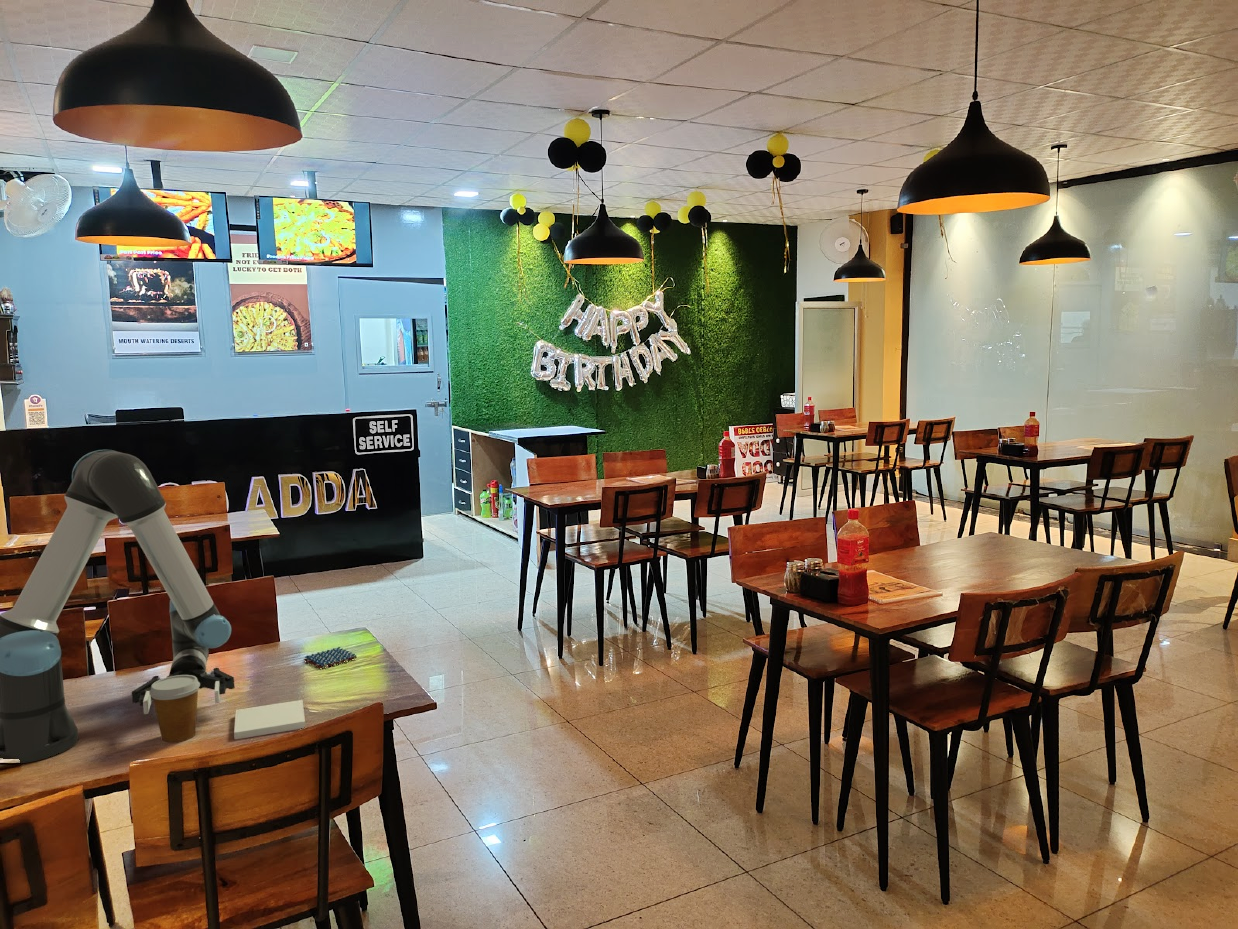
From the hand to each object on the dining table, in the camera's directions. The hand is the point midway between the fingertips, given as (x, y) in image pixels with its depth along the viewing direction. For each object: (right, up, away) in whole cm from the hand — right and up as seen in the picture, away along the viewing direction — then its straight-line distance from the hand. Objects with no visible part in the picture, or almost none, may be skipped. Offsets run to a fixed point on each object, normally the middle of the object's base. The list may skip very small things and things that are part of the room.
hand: (181, 702), depth 184 cm
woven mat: (+17, -2, +45) cm, 48 cm away
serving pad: (+16, -6, +6) cm, 19 cm away
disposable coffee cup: (0, -7, -1) cm, 7 cm away
